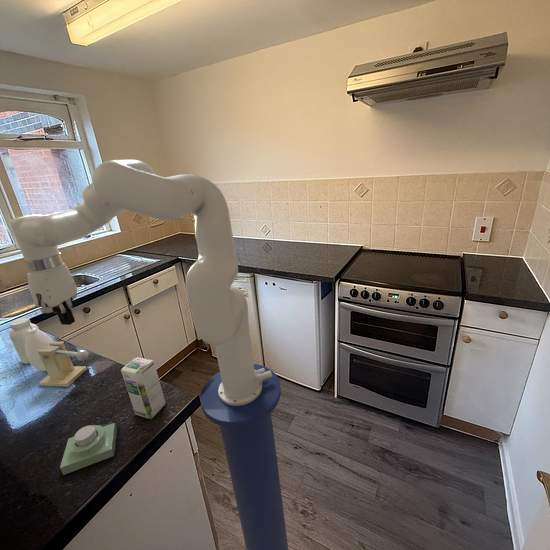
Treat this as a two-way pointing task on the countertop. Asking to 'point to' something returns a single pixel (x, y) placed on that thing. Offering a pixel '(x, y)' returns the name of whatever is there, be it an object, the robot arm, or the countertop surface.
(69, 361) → the lever bracket
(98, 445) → the green push button base
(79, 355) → the flush lever
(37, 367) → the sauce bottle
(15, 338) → the pill bottle
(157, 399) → the syrup box
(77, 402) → the countertop surface
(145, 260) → the countertop surface
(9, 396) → the countertop surface
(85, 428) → the white round push button
